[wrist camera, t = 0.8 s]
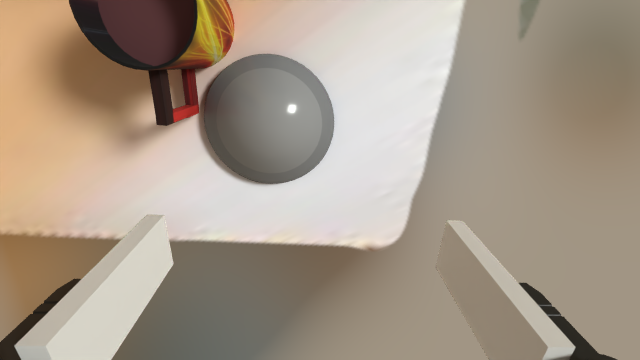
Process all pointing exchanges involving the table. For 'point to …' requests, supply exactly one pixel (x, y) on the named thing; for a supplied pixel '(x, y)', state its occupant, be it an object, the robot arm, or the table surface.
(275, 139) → the plate
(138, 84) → the table surface
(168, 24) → the mug
